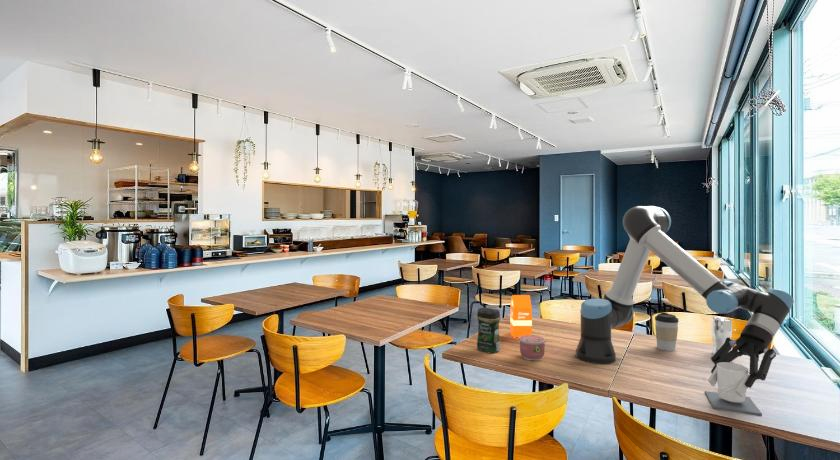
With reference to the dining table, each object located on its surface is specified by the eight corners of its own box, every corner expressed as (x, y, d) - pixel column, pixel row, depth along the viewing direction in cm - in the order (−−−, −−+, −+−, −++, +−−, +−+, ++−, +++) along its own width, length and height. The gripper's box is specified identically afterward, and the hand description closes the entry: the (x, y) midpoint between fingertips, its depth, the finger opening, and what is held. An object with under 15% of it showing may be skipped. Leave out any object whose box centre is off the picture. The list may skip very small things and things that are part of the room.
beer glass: (725, 358, 172) (726, 321, 171) (707, 353, 178) (708, 318, 178) (734, 355, 175) (735, 319, 175) (716, 350, 181) (717, 315, 181)
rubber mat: (713, 408, 129) (713, 406, 129) (704, 392, 140) (704, 390, 140) (761, 415, 124) (761, 413, 124) (749, 398, 135) (749, 397, 135)
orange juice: (531, 338, 201) (532, 296, 200) (513, 338, 201) (513, 296, 201) (528, 333, 209) (528, 293, 208) (510, 333, 209) (510, 293, 208)
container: (516, 359, 173) (516, 340, 172) (522, 352, 182) (522, 333, 182) (542, 363, 168) (542, 343, 167) (547, 355, 177) (547, 336, 177)
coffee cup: (681, 352, 179) (682, 317, 179) (658, 351, 181) (659, 316, 181) (673, 345, 188) (674, 312, 188) (651, 344, 190) (651, 311, 189)
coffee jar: (474, 350, 184) (474, 308, 184) (483, 345, 190) (483, 305, 190) (493, 355, 178) (493, 311, 177) (502, 350, 184) (502, 308, 183)
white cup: (710, 393, 136) (710, 362, 135) (732, 392, 136) (733, 361, 136) (730, 404, 128) (730, 371, 127) (754, 403, 128) (754, 370, 128)
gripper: (802, 347, 127) (766, 409, 122) (731, 330, 146) (698, 383, 141) (792, 332, 125) (755, 394, 120) (721, 316, 144) (687, 369, 139)
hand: (724, 388), depth 131 cm, fingers closed on white cup, 8 cm apart
